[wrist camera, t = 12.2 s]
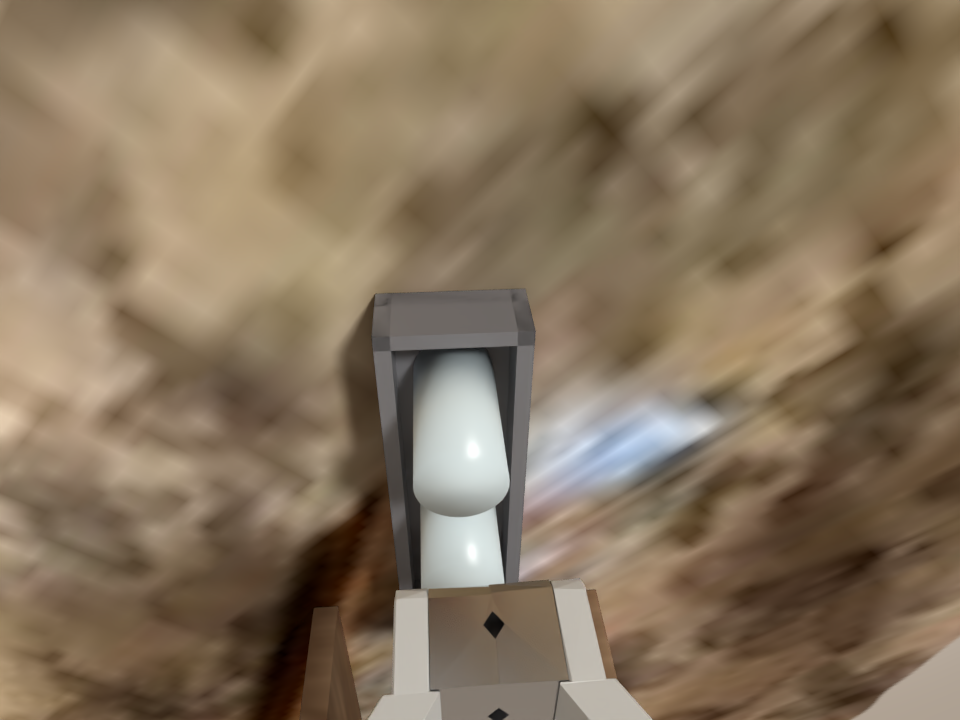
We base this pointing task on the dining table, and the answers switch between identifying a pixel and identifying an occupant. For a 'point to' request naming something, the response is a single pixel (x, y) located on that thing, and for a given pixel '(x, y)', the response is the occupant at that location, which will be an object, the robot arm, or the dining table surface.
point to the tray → (397, 399)
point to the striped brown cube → (329, 678)
